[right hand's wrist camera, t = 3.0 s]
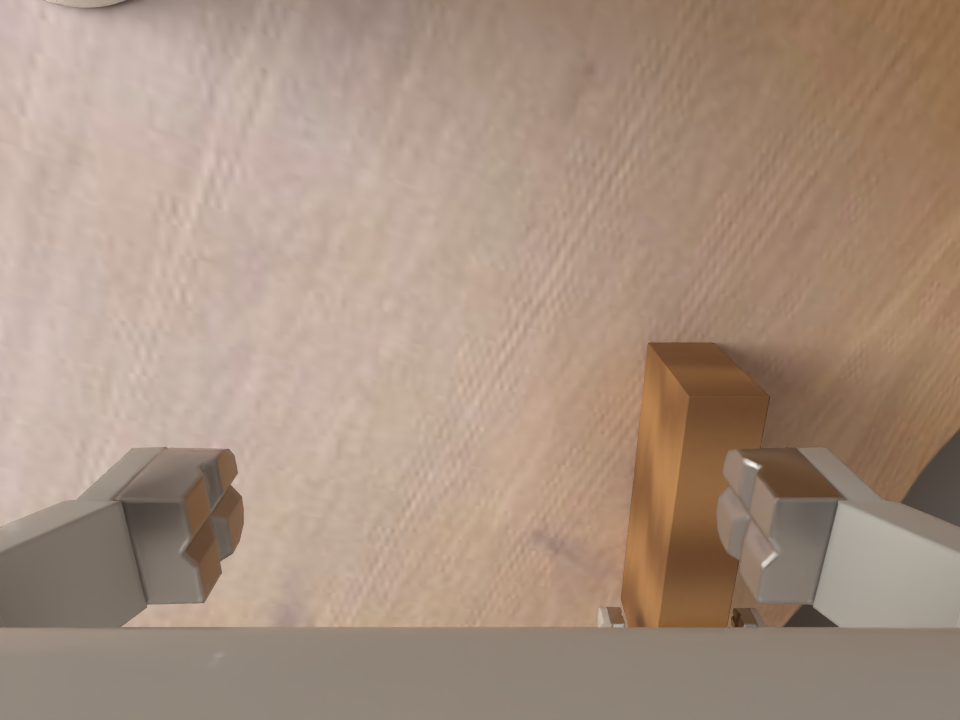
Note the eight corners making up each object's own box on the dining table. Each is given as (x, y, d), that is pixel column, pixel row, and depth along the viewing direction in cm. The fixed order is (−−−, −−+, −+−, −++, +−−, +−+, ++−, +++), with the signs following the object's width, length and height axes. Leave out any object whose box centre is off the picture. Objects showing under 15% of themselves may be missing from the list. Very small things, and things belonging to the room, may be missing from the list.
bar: (647, 342, 42) (688, 395, 34) (713, 342, 42) (770, 396, 34) (620, 600, 50) (648, 694, 42) (676, 600, 50) (714, 694, 42)
